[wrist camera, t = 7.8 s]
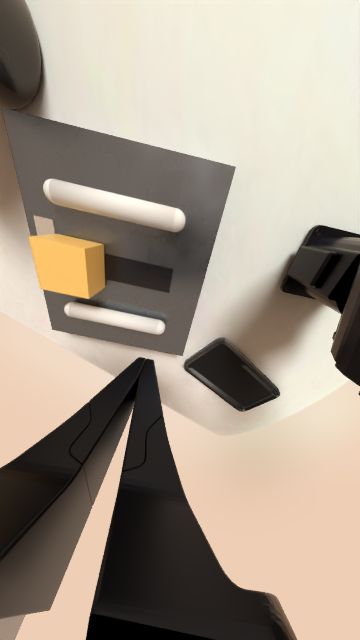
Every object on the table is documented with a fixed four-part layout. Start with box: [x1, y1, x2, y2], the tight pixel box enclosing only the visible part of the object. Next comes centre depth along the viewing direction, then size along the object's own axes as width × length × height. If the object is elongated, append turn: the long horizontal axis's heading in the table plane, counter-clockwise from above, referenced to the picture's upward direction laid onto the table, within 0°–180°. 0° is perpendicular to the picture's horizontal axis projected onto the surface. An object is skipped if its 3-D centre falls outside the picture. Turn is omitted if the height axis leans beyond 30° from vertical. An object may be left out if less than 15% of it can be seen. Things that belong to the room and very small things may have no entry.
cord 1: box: [64, 302, 165, 335], centre depth 18 cm, size 11×2×2 cm, turn 79°
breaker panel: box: [2, 108, 236, 356], centre depth 17 cm, size 16×18×3 cm
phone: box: [185, 338, 280, 411], centre depth 26 cm, size 8×1×15 cm
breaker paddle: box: [28, 234, 105, 299], centre depth 14 cm, size 4×4×3 cm
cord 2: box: [43, 179, 185, 232], centre depth 13 cm, size 11×2×2 cm, turn 79°
